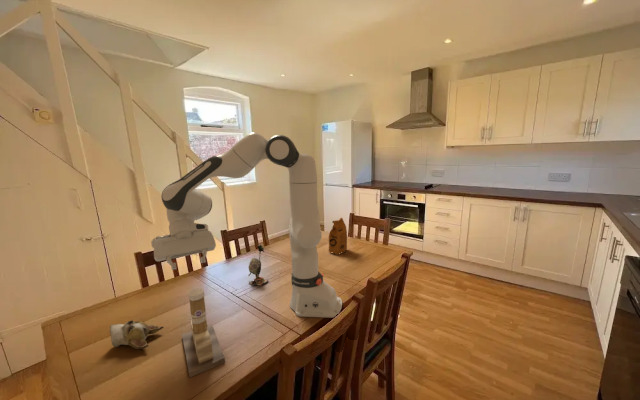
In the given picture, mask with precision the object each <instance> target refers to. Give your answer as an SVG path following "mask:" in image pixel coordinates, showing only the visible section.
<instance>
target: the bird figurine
mask: <svg viewBox="0 0 640 400" xmlns="http://www.w3.org/2000/svg"><path fill="white" fill-rule="evenodd" d="M256 247H257V249H258V252H259V253H258V254H259V259H258V258H255V257H253V258H251V260H250V262H249V264H248V270H249V274H248V277H250V275H251V274H252V275H255V278H254V279H253V280H254V281H253V280H251V281H250V282H249V283H248V284H249V285H253V286H255V285H257V286H262V285H263V284H265V283H268V282H269V280H268V279H267V280H266V279H265V278H264V277H262V276H260V273H261V271H262V261H261V253H262V252H263V253H265V251H264V250H265V247H263V245H262V244H258V245H257V246H256Z"/></svg>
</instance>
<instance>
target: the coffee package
mask: <svg viewBox="0 0 640 400" xmlns="http://www.w3.org/2000/svg"><path fill="white" fill-rule="evenodd" d="M332 224H333V225H332V227H331V230H330V231H329V232H328V233H329V234H328V252H329V253H330V252H333V253H335V254H334V255H337V254H339V253H341V252H344V251H345V250H346V249H347V250H348V231H347V230H348V229H347V226H346V223H345V221H344V219H343V217H340V218H339V219H337V220H332ZM347 250H346V251H347ZM346 251H345V252H346ZM345 252H344V253H345ZM333 253H332V254H333ZM341 254H342V253H341Z"/></svg>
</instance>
